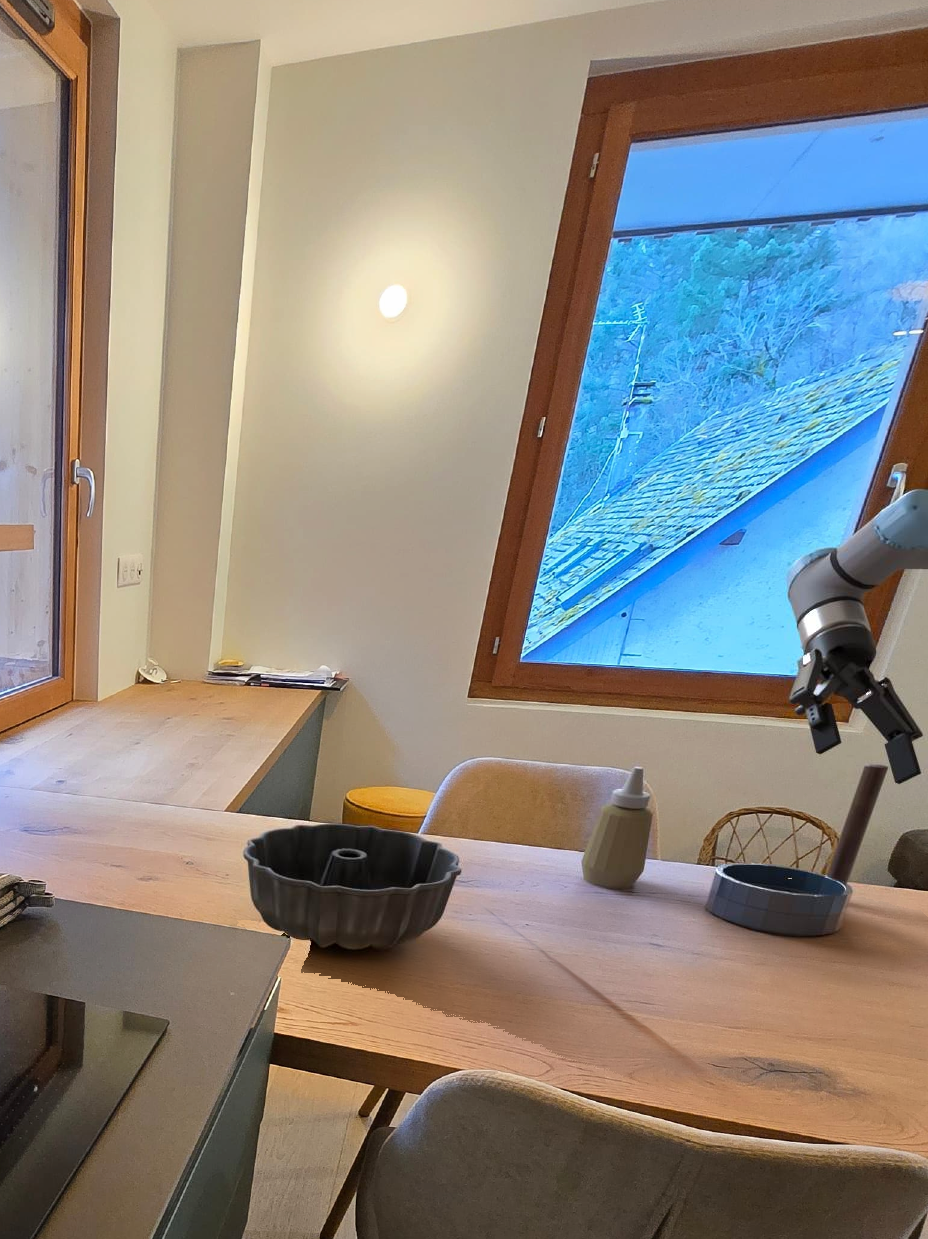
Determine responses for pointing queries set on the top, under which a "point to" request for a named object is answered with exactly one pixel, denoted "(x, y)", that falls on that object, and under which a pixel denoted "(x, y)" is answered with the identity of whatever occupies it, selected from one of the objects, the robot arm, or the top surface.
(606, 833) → the squeeze bottle
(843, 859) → the stirring stick
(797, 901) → the bowl
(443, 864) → the bundt pan
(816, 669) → the robot arm
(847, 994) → the top surface
